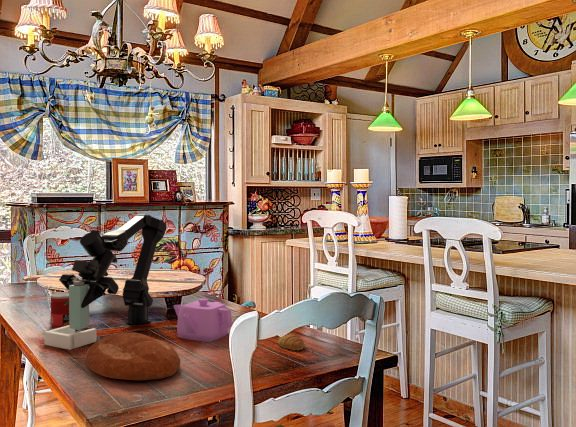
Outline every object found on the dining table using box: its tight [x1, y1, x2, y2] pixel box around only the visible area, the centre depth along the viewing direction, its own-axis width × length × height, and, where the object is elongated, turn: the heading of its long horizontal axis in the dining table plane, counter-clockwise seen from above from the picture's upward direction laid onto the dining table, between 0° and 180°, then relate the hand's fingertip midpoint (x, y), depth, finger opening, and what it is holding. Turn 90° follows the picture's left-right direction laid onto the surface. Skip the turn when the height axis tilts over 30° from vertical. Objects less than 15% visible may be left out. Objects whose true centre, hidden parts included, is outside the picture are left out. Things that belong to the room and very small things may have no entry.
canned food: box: [50, 292, 69, 329], centre depth 187 cm, size 8×8×11 cm
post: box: [68, 281, 90, 330], centre depth 163 cm, size 4×4×14 cm
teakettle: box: [173, 298, 233, 343], centre depth 176 cm, size 17×17×12 cm
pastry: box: [277, 332, 306, 351], centre depth 165 cm, size 9×7×4 cm
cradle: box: [44, 325, 97, 350], centre depth 166 cm, size 10×11×4 cm
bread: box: [85, 331, 181, 382], centre depth 144 cm, size 23×32×9 cm
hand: (76, 306), depth 162 cm, fingers closed on post, 4 cm apart
